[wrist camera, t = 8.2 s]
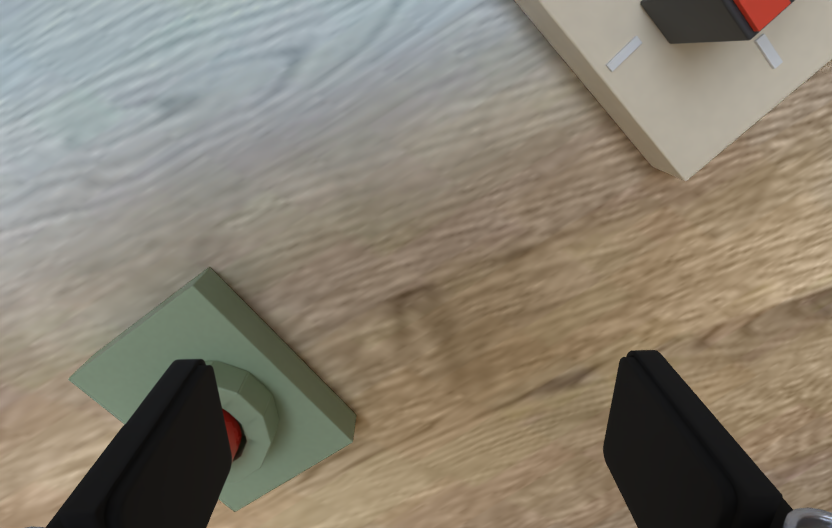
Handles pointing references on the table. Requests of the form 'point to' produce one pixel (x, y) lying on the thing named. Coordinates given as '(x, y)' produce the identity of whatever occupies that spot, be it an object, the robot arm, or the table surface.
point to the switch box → (227, 383)
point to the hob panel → (683, 73)
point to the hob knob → (712, 18)
